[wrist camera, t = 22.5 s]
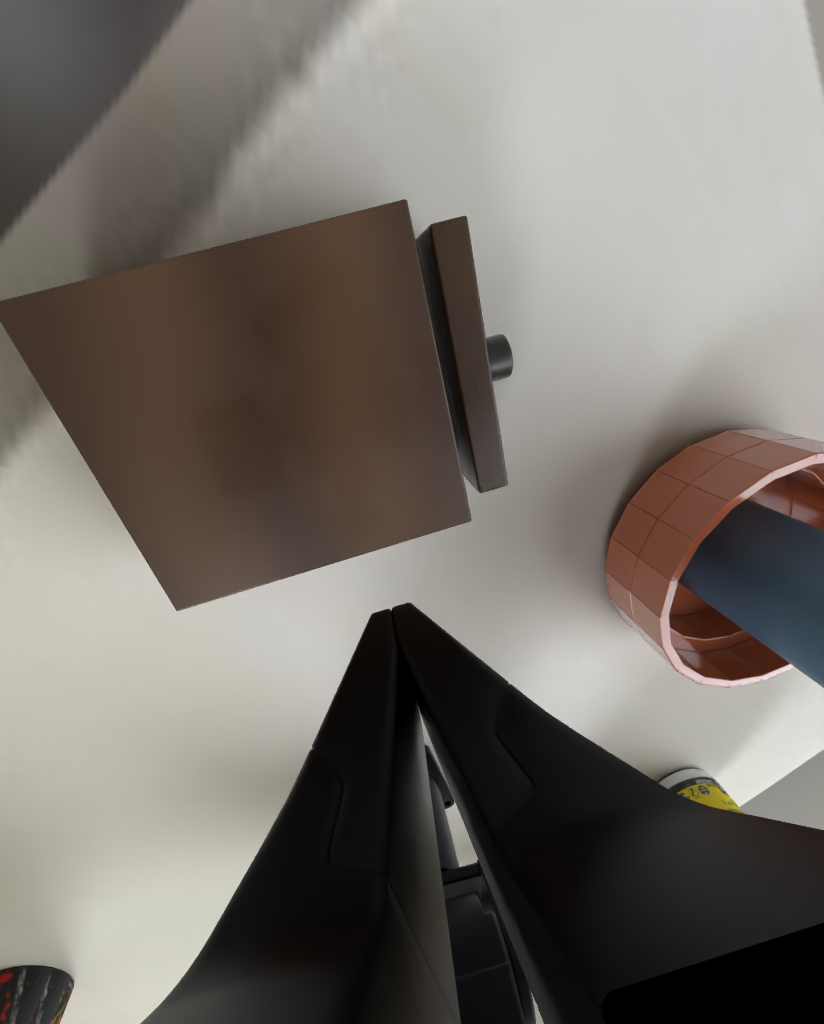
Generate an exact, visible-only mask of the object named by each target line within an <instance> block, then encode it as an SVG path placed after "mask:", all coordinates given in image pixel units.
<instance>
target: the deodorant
mask: <svg viewBox="0 0 824 1024" xmlns="http://www.w3.org/2000/svg"><path fill="white" fill-rule="evenodd" d="M73 988H74V981H73V979H72V978H71V977H70V975H68V974H66V973H65V972H63V971H60V970H57V969H54V968H49V967H42V966H26V967H16V968H11V969H7V970H3V971H0V1024H60V1021H61V1019H62V1016H63V1013H64V1011H65V1008H66V1006H67V1003H68V1000H69V998H70V995H71V993H72V990H73Z"/></svg>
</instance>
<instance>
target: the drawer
mask: <svg viewBox="0 0 824 1024" xmlns="http://www.w3.org/2000/svg"><path fill="white" fill-rule="evenodd" d="M415 242H416V247H417V252H418V257H419V262H420V267H421V272H422V277H423V282H424V287H425V292H426V297H427V301H428V306H429V311H430V316H431V321H432V326H433V331H434V336H435V341H436V346H437V351H438V356H439V361H440V366H441V371H442V376H443V381H444V386H445V391H446V395H447V400H448V405H449V410H450V415H451V420H452V425H453V430H454V435H455V440H456V445H457V450H458V455H459V460H460V465H461V470H462V474H463V475H464V476H465V478H466V479H467V480H468V481H469V482H470V483H471V484H472V485H473V486H474V487H475V488H476V490H477V491H478V492H479V493H483V492H487V491H490V490H493V489H497V488H500V487H503V486H507V485H508V481H507V474H506V468H505V461H504V455H503V448H502V442H501V435H500V429H499V422H498V416H497V409H496V403H495V396H494V390H493V383H492V382H493V381H497V380H500V379H504V378H507V377H509V376H510V375H511V373H512V369H513V357H512V352H511V348H510V345H509V342H508V340H507V339H506V337H505V336H504V335H501V334H498V335H495V336H491V337H488V338H486V337H485V331H484V324H483V318H482V311H481V305H480V298H479V292H478V285H477V279H476V272H475V266H474V259H473V253H472V246H471V240H470V233H469V227H468V220H467V217H466V216H461V217H457V218H453V219H449V220H445V221H441V222H438V223H434V224H431V225H430V226H429V227H428V228H427V229H426V230H425V231H424V232H423V233H422V234H421V235H420V236H419V237H418V238H417V239H416V240H415Z"/></svg>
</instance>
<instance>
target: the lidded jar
mask: <svg viewBox="0 0 824 1024" xmlns="http://www.w3.org/2000/svg"><path fill="white" fill-rule="evenodd" d="M678 582H679V583H680V584H681V585H683V586H684V587H686V588H687V589H688V590H690V591H691V592H692V593H694V594H695V595H697V596H698V597H699V598H701V599H702V600H703V601H705V602H706V603H708V604H709V605H710V606H712V607H713V608H714V609H716V610H717V611H719V612H720V613H721V614H723V615H724V616H726V617H727V618H728V619H730V620H731V621H732V622H734V623H735V624H737V625H738V626H739V627H741V628H742V629H743V630H745V631H746V632H748V633H749V634H750V635H752V636H753V637H754V638H756V639H757V640H759V641H760V642H761V643H763V644H764V645H765V646H767V647H768V648H770V649H771V650H772V651H774V652H775V653H777V654H778V655H779V656H781V657H782V658H783V659H785V660H786V661H788V662H789V663H790V664H792V665H793V666H794V667H796V668H797V669H799V670H800V671H801V672H803V673H804V674H805V675H807V676H808V677H810V678H811V679H812V680H814V681H815V682H817V683H818V684H819V685H821V686H822V687H823V688H824V530H822V529H819V528H817V527H814V526H812V525H809V524H807V523H805V522H802V521H800V520H797V519H795V518H792V517H790V516H787V515H785V514H782V513H780V512H778V511H775V510H773V509H770V508H768V507H765V506H763V505H760V504H758V503H756V502H753V501H751V500H748V499H746V500H744V501H743V502H742V503H740V504H739V505H737V506H736V507H734V508H733V509H732V510H731V511H730V512H729V513H728V514H727V515H726V516H725V518H724V519H723V520H722V521H721V522H720V523H719V524H718V525H717V526H716V527H715V528H714V529H713V530H712V531H711V532H710V534H709V535H708V536H707V537H706V538H705V539H704V540H703V541H702V542H701V543H700V545H699V547H698V548H697V550H696V552H695V553H694V555H693V557H692V558H691V560H690V562H689V564H688V565H687V567H686V569H685V570H684V572H683V574H682V575H681V577H680V579H679V581H678Z"/></svg>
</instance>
